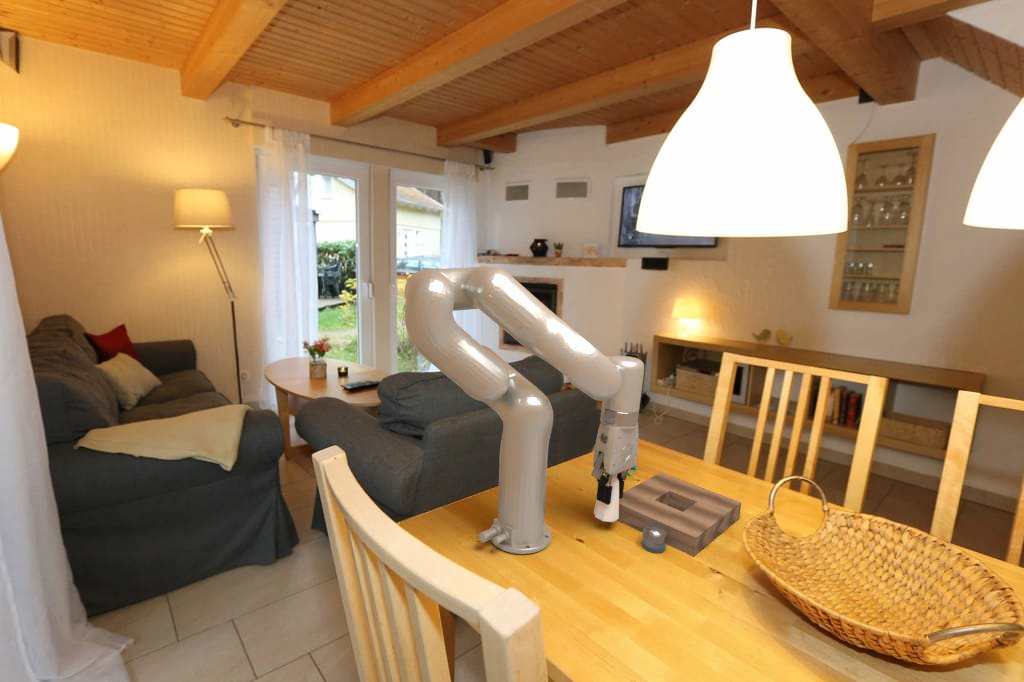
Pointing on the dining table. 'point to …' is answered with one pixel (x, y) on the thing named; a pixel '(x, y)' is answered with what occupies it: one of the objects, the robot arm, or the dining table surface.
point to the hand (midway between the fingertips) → (609, 498)
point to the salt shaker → (612, 510)
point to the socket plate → (679, 511)
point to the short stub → (654, 538)
